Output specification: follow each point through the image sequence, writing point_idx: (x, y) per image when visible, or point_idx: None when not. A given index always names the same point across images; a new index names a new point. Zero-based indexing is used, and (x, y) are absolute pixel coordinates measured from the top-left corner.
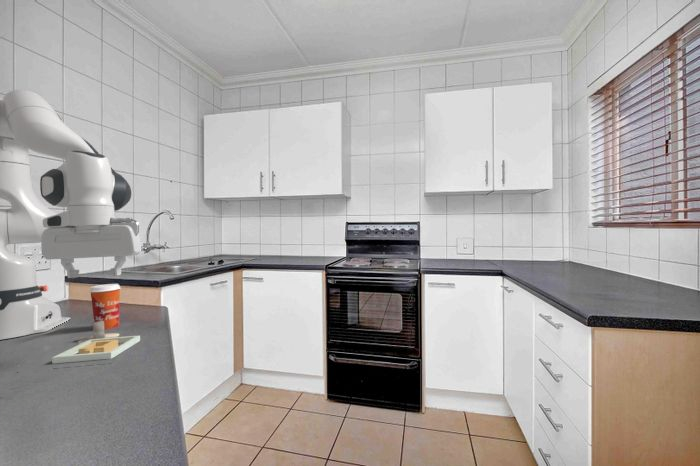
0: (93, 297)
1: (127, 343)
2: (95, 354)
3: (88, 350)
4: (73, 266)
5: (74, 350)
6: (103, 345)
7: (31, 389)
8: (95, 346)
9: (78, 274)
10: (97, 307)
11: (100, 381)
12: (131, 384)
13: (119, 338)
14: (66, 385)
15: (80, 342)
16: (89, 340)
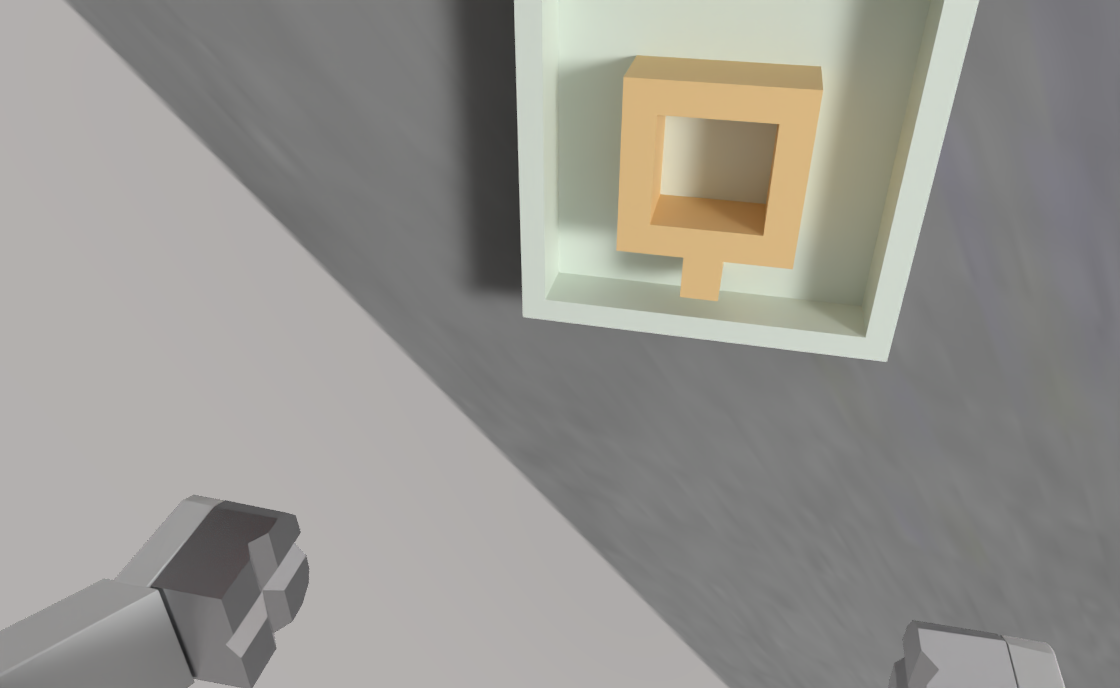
0: None
1: (934, 171)
2: (784, 348)
3: (709, 298)
4: (86, 637)
5: (547, 164)
6: (768, 224)
7: (627, 495)
8: (660, 115)
9: (272, 544)
10: None
11: (920, 528)
12: (1095, 609)
13: None
14: (768, 512)
15: None
16: None
